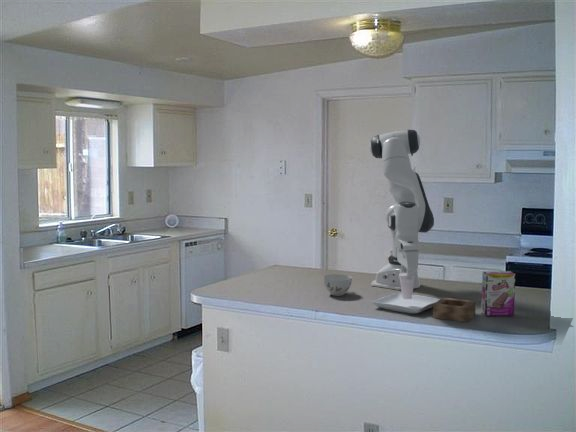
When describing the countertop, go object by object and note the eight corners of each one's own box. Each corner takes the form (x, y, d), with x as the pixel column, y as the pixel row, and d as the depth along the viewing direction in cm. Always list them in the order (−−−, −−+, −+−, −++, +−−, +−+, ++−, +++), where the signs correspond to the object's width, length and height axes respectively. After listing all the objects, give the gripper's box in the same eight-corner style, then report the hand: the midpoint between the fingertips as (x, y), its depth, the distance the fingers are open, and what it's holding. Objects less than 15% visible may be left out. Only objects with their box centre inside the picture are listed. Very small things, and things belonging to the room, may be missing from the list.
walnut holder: (432, 317, 227) (433, 304, 227) (442, 309, 238) (442, 297, 237) (466, 322, 221) (467, 308, 220) (475, 313, 231) (475, 301, 231)
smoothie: (403, 300, 239) (402, 265, 237) (396, 297, 245) (395, 262, 243) (418, 299, 240) (417, 264, 239) (411, 295, 246) (410, 261, 245)
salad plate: (397, 299, 258) (397, 291, 257) (443, 306, 244) (443, 298, 244) (370, 309, 242) (370, 300, 241) (418, 318, 228) (418, 309, 228)
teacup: (342, 299, 257) (342, 280, 256) (317, 295, 264) (317, 277, 264) (360, 292, 269) (360, 274, 268) (335, 288, 277) (335, 271, 276)
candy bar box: (485, 316, 227) (486, 273, 225) (480, 313, 232) (481, 271, 230) (514, 316, 228) (516, 273, 226) (509, 312, 233) (510, 270, 231)
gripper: (393, 239, 250) (393, 272, 252) (404, 247, 230) (404, 282, 231) (408, 239, 251) (408, 272, 252) (421, 246, 230) (421, 282, 232)
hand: (406, 277), depth 242 cm, fingers closed on smoothie, 6 cm apart
